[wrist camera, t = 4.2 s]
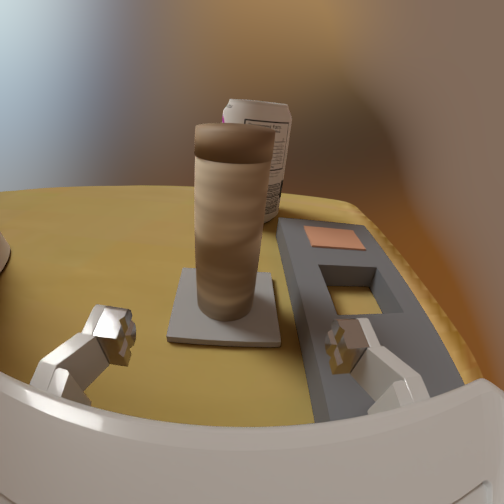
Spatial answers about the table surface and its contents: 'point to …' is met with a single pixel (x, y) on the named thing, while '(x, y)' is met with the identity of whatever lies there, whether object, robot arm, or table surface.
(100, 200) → the table surface
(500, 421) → the robot arm
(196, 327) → the pad
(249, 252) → the maple peg
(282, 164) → the supplement can
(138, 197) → the table surface
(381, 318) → the socket board
